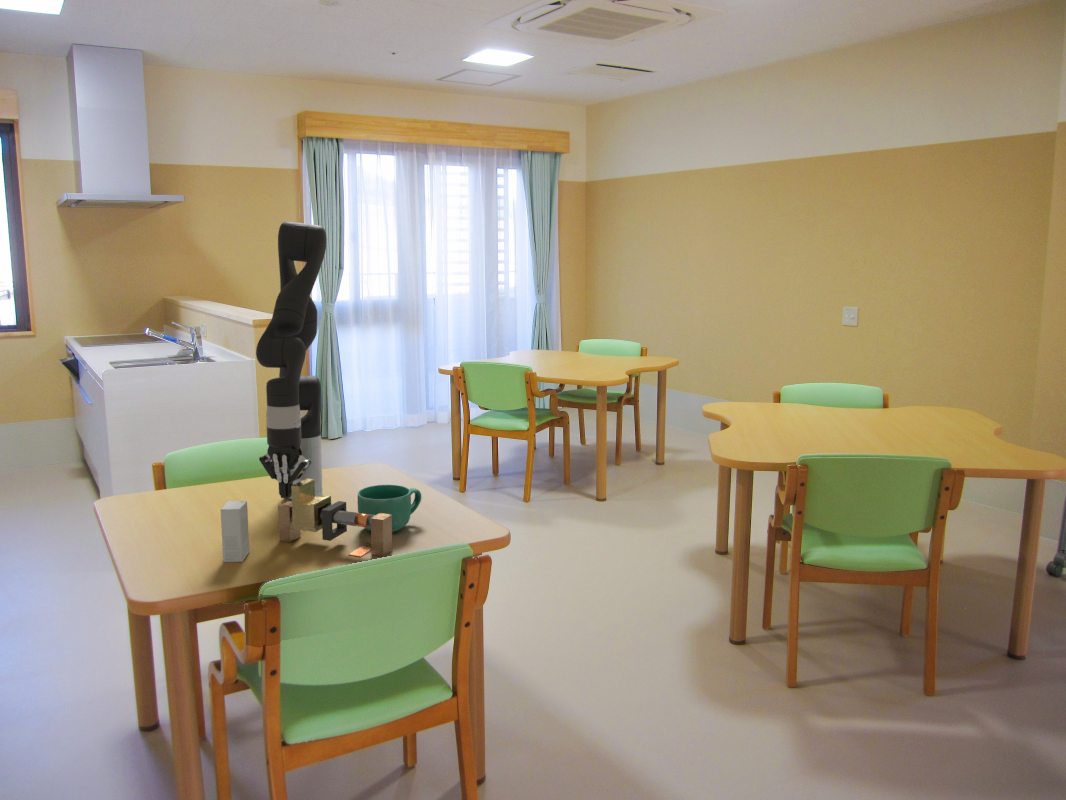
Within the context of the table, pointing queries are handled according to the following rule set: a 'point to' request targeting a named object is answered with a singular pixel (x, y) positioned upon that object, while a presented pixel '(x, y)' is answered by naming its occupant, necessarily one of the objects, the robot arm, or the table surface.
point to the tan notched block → (307, 506)
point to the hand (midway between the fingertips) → (286, 497)
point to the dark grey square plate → (327, 521)
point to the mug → (389, 503)
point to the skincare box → (235, 531)
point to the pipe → (377, 523)
